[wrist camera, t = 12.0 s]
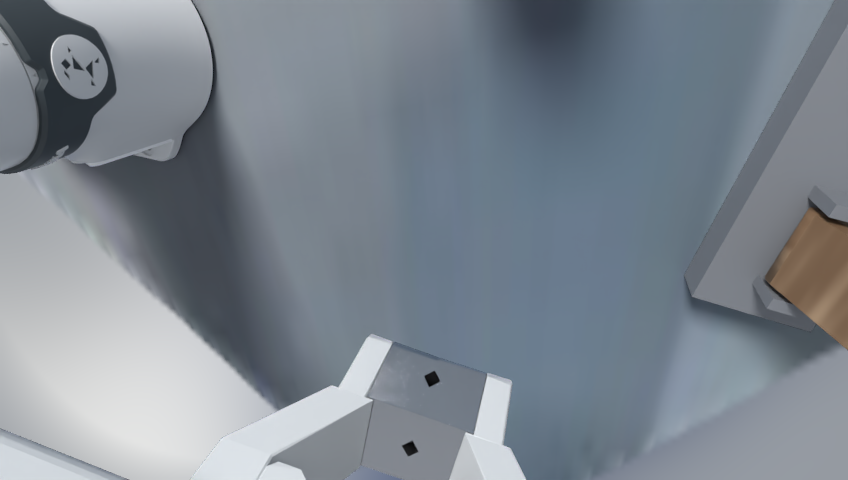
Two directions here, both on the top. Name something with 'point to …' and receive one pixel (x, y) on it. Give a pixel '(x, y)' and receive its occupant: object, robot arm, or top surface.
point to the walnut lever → (816, 272)
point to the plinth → (782, 184)
